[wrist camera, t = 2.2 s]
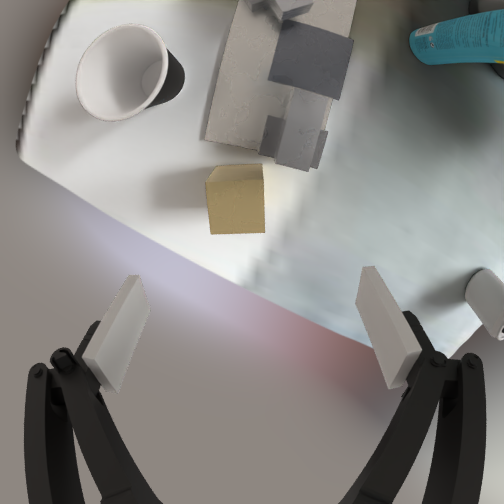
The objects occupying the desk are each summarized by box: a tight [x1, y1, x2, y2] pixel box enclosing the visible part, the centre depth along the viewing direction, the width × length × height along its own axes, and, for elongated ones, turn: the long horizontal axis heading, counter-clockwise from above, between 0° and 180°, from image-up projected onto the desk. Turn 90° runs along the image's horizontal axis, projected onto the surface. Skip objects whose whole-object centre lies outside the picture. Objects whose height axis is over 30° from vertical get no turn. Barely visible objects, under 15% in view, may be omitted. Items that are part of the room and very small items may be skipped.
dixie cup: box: [76, 24, 185, 121], centre depth 19 cm, size 8×8×11 cm
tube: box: [409, 9, 504, 65], centre depth 12 cm, size 7×5×19 cm, turn 167°
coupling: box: [205, 164, 265, 234], centre depth 27 cm, size 5×5×7 cm
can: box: [465, 269, 504, 340], centre depth 32 cm, size 8×8×12 cm
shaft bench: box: [204, 0, 357, 172], centre depth 20 cm, size 23×14×6 cm, turn 167°
